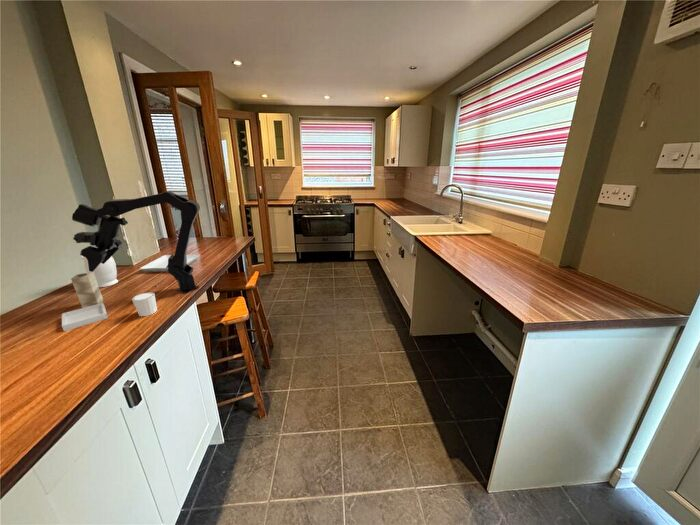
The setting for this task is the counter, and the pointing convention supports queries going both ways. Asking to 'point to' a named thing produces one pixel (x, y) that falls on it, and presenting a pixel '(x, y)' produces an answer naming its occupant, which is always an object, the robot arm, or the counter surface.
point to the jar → (104, 272)
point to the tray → (83, 316)
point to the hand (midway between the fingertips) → (96, 267)
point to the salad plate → (165, 263)
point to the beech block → (87, 289)
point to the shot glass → (145, 303)
